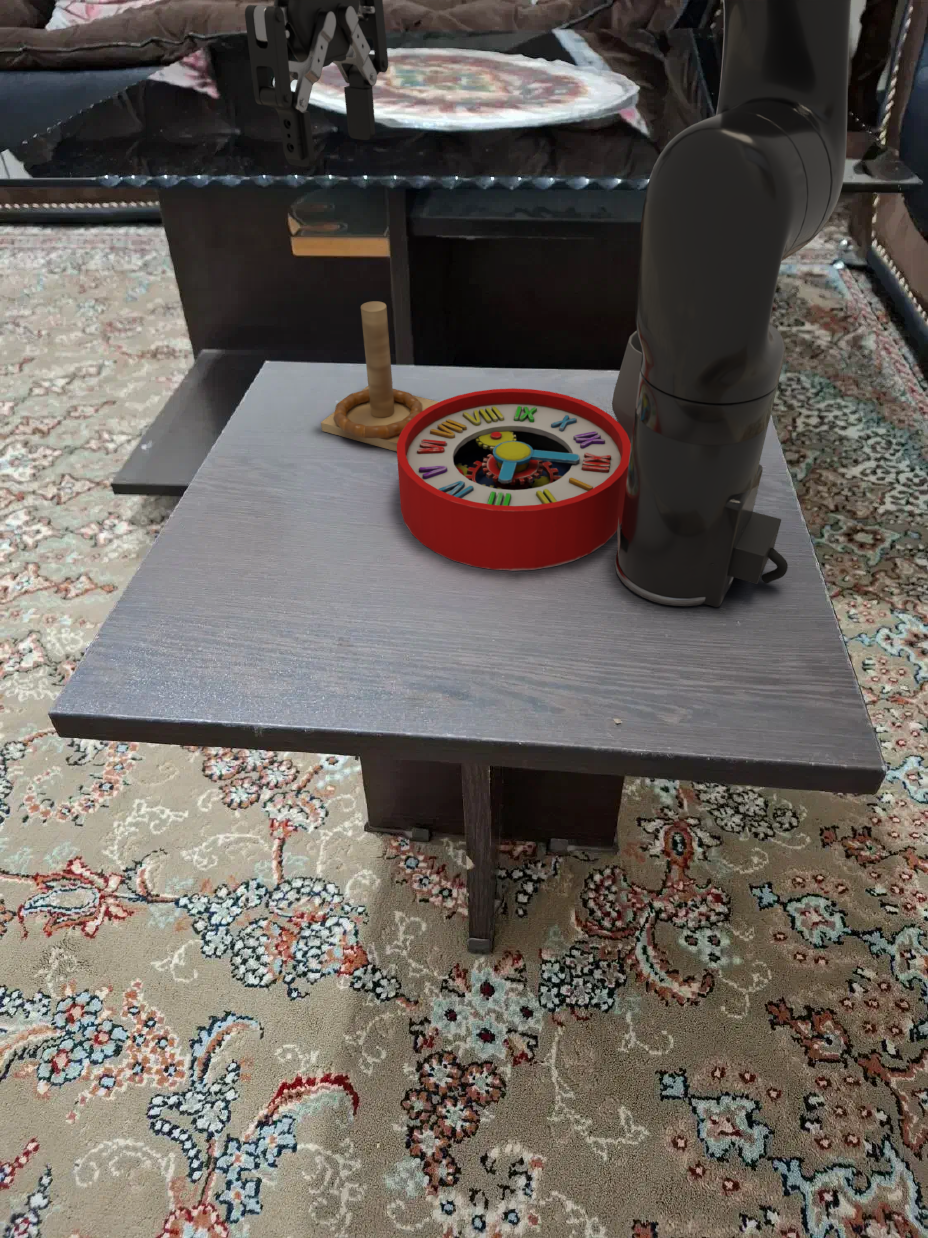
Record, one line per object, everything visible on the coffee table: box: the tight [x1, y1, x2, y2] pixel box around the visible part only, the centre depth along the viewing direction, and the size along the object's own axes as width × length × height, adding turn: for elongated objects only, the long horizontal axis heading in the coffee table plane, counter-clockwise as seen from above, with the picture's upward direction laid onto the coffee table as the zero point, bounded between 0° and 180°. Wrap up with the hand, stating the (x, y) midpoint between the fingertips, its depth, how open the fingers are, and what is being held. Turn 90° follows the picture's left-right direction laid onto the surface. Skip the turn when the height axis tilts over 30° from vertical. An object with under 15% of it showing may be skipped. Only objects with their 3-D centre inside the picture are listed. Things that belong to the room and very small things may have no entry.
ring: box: [333, 388, 423, 438], centre depth 89 cm, size 9×9×1 cm
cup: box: [611, 330, 642, 443], centre depth 84 cm, size 10×9×10 cm
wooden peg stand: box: [320, 300, 439, 453], centre depth 87 cm, size 9×9×12 cm
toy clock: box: [396, 387, 631, 572], centre depth 78 cm, size 20×6×20 cm
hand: (333, 150), depth 71 cm, fingers open, 8 cm apart
